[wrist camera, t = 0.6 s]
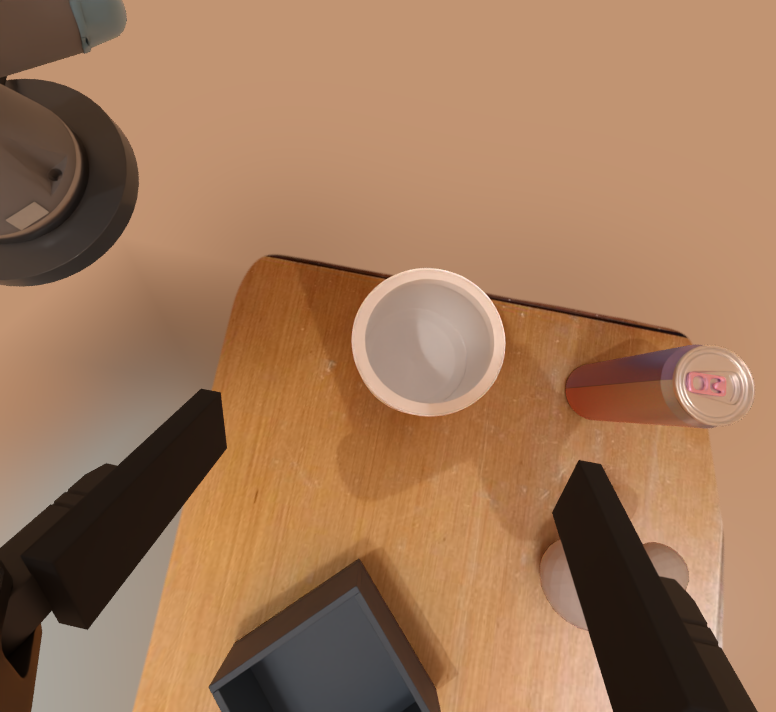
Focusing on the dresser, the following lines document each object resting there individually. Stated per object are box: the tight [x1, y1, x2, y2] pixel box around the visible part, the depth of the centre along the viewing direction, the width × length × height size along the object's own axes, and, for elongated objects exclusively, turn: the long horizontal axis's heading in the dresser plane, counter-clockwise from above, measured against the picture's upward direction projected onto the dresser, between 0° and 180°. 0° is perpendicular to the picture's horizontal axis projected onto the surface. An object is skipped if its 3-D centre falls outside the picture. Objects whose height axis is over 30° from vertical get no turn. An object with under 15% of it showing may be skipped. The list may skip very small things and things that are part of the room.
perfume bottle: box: [540, 539, 689, 631], centre depth 32 cm, size 8×10×12 cm
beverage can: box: [566, 345, 755, 428], centre depth 32 cm, size 6×6×15 cm
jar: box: [352, 268, 505, 416], centre depth 32 cm, size 11×10×15 cm
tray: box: [209, 559, 441, 712], centre depth 33 cm, size 14×14×6 cm
